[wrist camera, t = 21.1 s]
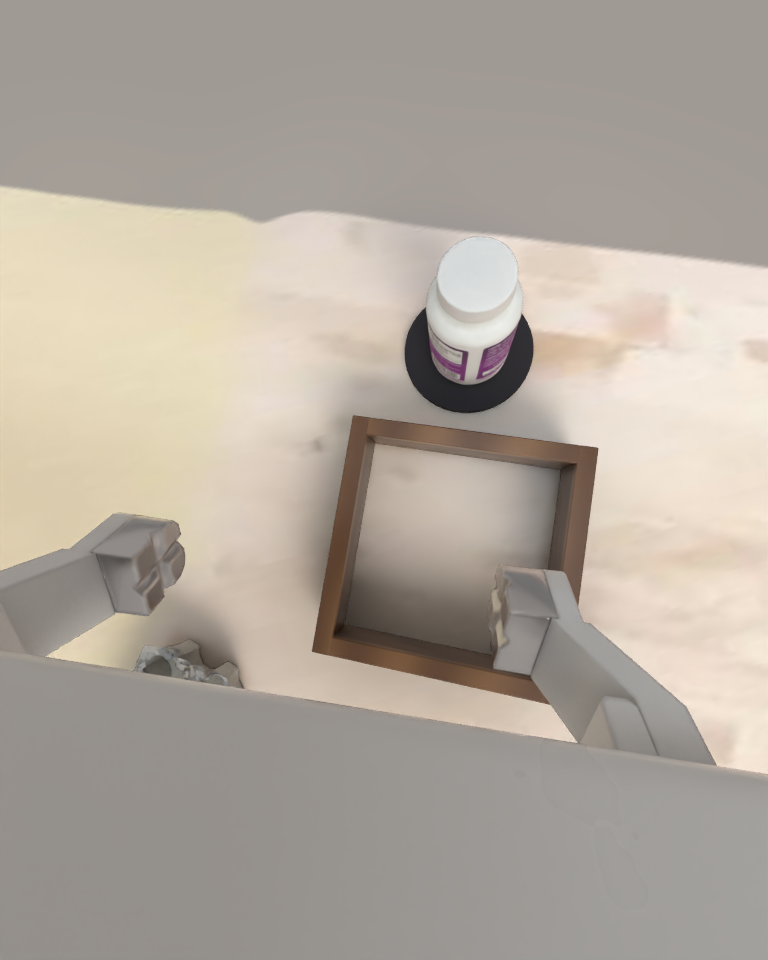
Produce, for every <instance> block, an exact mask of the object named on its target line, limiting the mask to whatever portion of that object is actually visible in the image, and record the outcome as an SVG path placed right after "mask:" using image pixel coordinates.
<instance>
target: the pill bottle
mask: <svg viewBox="0 0 768 960" xmlns="http://www.w3.org/2000/svg"><path fill="white" fill-rule="evenodd" d="M522 309H523V291H522V287H521V284H520V282H519V280H518V264H517V261H516V258H515V256H514V254H513V253H512V251H511V250H510V249H509V248H508V247H507V246H506V245H505V244H504V243H502V242H500V241H498V240H496V239H494V238H490V237H471V238H467V239H464V240H462V241H460V242H458V243H456V244H455V245H454V246H452V247H451V248H450V249H449V250H448V251H447V252H446V253H445V255H444V256H443V258H442V260H441V262H440V264H439V267H438V271H437V276H436V277H435V279H434V281H433V282H432V284H431V286H430V289H429V292H428V295H427V302H426V314H427V321H428V331H429V340H430V349H431V355H432V359H433V362H434V364H435V366H436V368H437V369H438V371H439V372H440V373H441V374H442V375H443V376H444V377H446V378H447V379H449V380H451V381H453V382H456V383H459V384H463V385H472V384H478V383H481V382H484V381H486V380H488V379H490V378H491V377H493V376H494V375H495V374H496V373H497V372H498V371H499V370H500V369H501V367H502V366H503V364H504V362H505V360H506V358H507V355H508V352H509V349H510V347H511V344H512V341H513V338H514V335H515V332H516V329H517V326H518V323H519V320H520V318H521V314H522Z"/></svg>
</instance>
